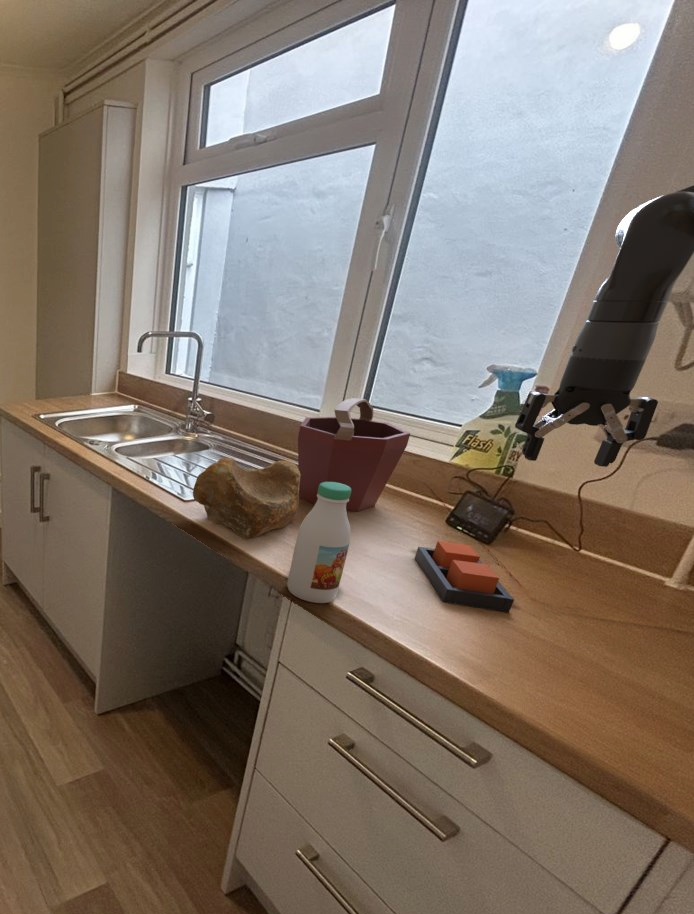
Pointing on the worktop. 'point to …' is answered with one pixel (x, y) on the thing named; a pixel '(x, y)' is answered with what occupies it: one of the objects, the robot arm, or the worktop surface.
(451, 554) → the orange block
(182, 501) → the worktop surface
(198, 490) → the rough brown rock
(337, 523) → the milk bottle
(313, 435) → the bucket
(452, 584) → the orange square block
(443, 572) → the frame
